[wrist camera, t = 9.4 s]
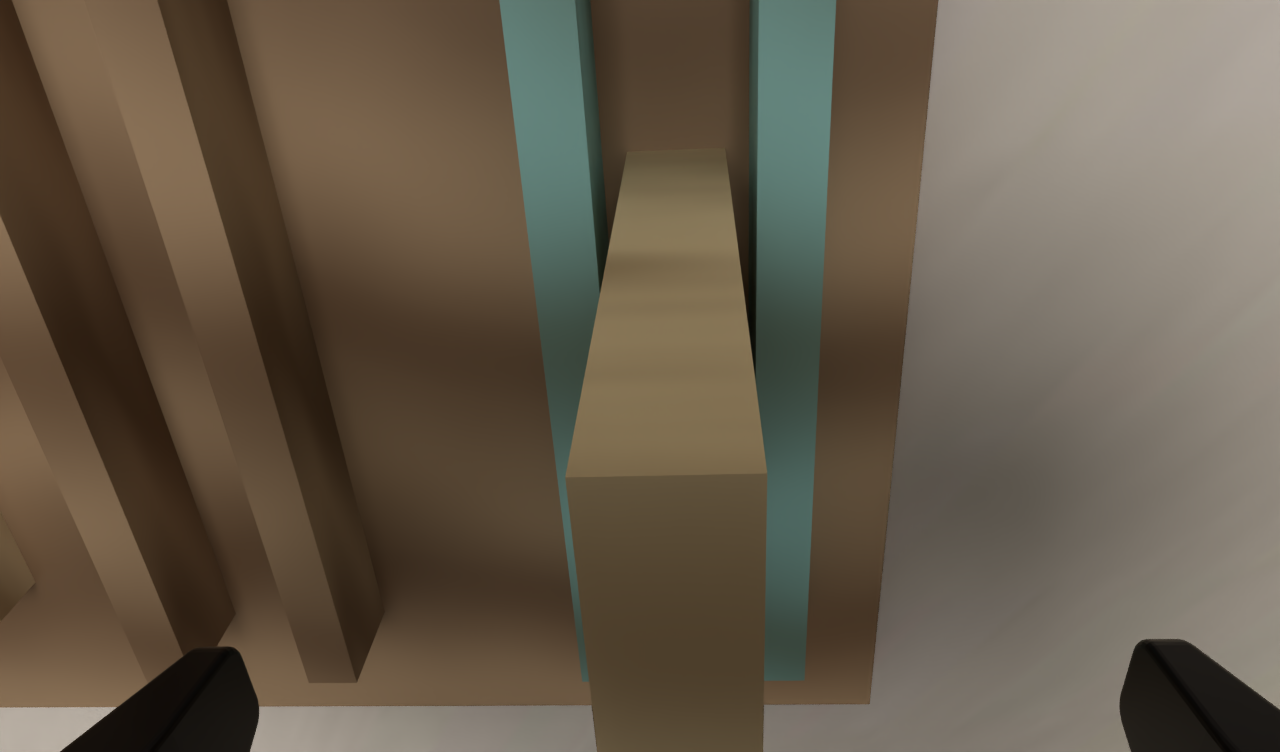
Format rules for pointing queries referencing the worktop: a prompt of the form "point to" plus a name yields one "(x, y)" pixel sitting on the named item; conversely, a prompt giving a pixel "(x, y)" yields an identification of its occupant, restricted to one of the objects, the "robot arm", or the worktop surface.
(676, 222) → the tan rectangular block
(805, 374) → the rack
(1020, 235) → the worktop surface
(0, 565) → the offcut stack
